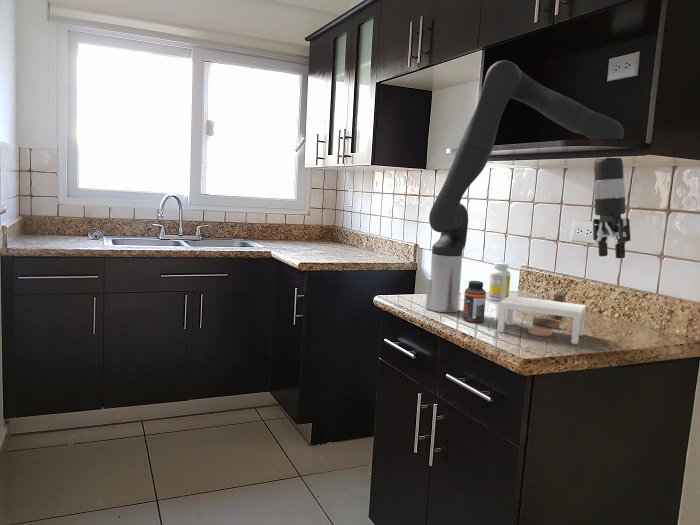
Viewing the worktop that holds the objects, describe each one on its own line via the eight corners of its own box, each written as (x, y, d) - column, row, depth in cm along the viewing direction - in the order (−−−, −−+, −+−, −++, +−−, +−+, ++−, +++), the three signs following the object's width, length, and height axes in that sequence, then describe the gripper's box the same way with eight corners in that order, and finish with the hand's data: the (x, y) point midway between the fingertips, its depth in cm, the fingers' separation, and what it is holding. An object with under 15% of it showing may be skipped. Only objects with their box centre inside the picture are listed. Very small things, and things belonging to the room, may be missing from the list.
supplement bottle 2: (503, 298, 200) (506, 262, 198) (511, 301, 194) (514, 264, 192) (485, 297, 199) (488, 261, 197) (493, 301, 193) (496, 264, 191)
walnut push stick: (532, 324, 159) (534, 304, 158) (549, 308, 185) (550, 290, 184) (558, 328, 156) (560, 307, 155) (571, 311, 181) (573, 293, 181)
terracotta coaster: (526, 334, 149) (526, 329, 148) (530, 330, 154) (530, 324, 154) (549, 338, 146) (550, 332, 146) (553, 333, 151) (553, 328, 151)
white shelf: (496, 331, 149) (499, 302, 148) (507, 323, 160) (509, 295, 159) (577, 344, 140) (580, 312, 139) (582, 334, 150) (585, 305, 149)
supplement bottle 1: (458, 318, 163) (461, 280, 162) (476, 318, 165) (479, 280, 163) (469, 323, 157) (472, 283, 156) (487, 322, 159) (490, 283, 158)
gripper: (583, 199, 157) (585, 256, 158) (610, 196, 143) (612, 259, 144) (608, 197, 158) (610, 254, 159) (638, 194, 144) (640, 257, 145)
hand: (611, 257), depth 152 cm, fingers open, 8 cm apart
